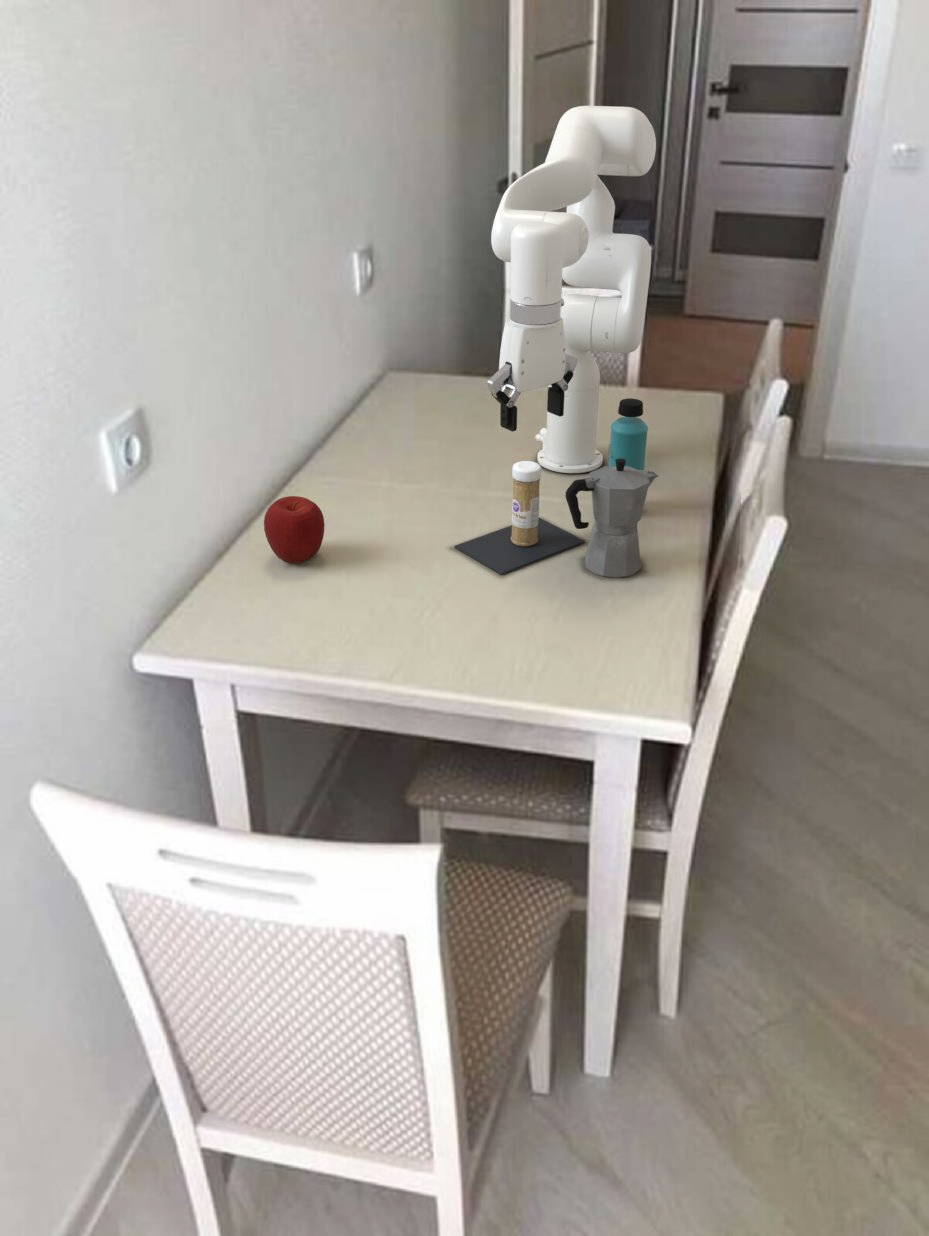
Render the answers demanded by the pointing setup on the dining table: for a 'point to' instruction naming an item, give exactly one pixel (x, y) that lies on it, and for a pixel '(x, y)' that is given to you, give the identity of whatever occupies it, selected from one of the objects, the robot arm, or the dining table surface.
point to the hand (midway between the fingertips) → (532, 421)
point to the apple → (294, 528)
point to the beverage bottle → (629, 435)
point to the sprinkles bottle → (525, 503)
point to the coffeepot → (612, 517)
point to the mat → (517, 547)
